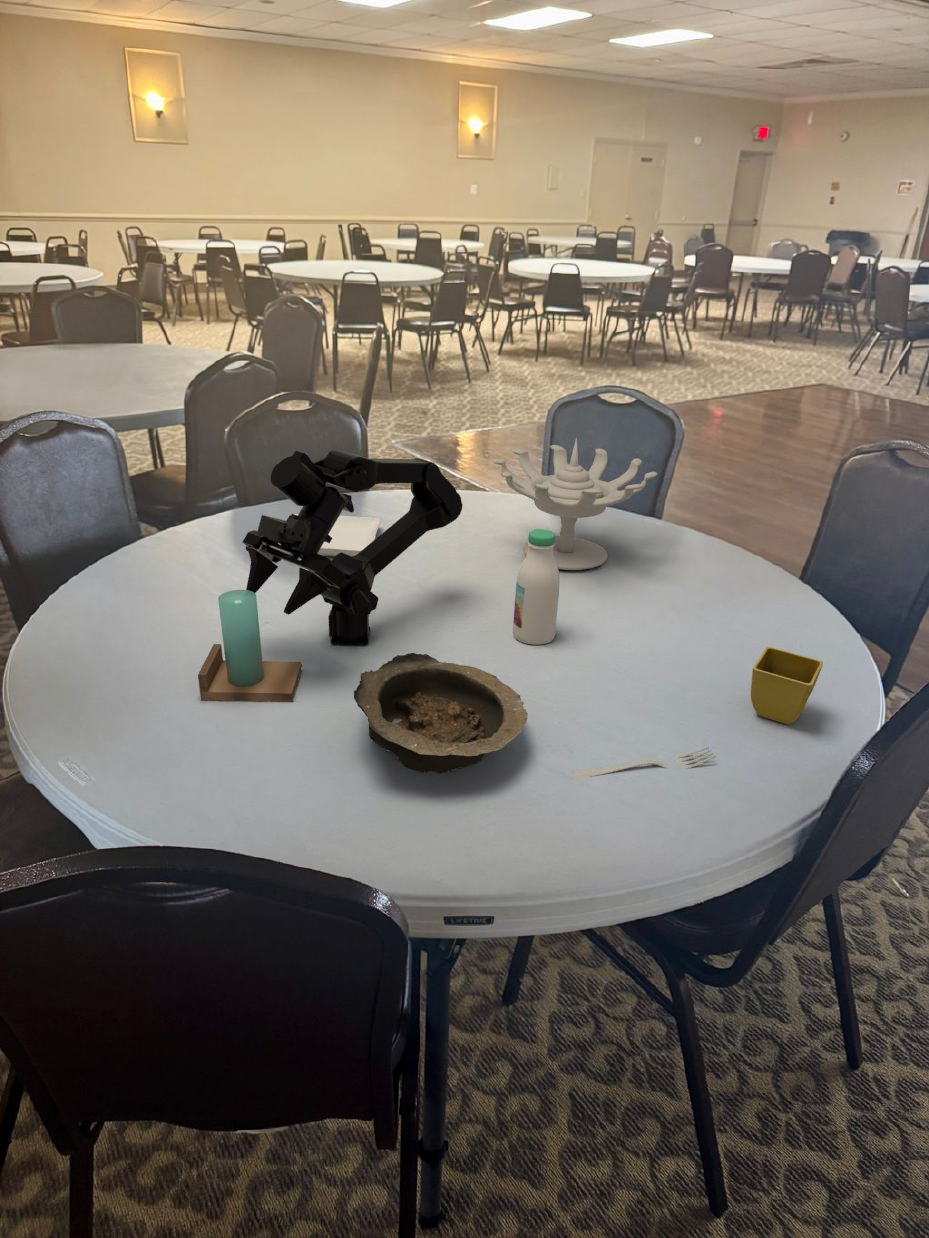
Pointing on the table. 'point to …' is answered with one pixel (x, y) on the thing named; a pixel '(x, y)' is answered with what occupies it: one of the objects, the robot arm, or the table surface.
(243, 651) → the mint green capsule
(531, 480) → the candelabra
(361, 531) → the salad plate
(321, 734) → the table surface
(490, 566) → the table surface
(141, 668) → the table surface
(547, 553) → the milk bottle
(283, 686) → the shelf board
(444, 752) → the stone bowl
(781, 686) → the flower pot
